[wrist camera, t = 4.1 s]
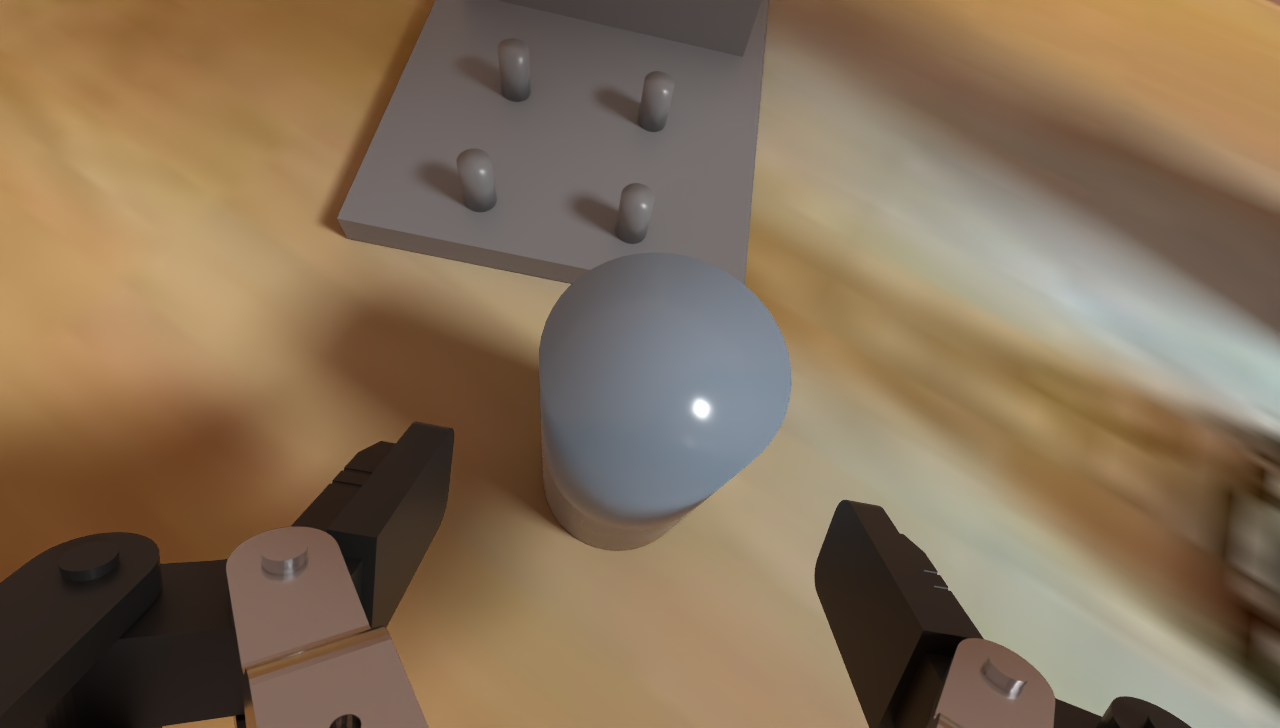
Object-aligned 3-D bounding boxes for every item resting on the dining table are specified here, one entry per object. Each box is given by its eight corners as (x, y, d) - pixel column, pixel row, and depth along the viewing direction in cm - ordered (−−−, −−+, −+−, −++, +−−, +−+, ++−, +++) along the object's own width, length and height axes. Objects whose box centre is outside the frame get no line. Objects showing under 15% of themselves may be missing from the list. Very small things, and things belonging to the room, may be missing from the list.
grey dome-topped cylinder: (697, 419, 22) (796, 278, 13) (680, 562, 19) (785, 509, 11) (559, 393, 21) (567, 231, 13) (528, 536, 19) (511, 460, 10)
